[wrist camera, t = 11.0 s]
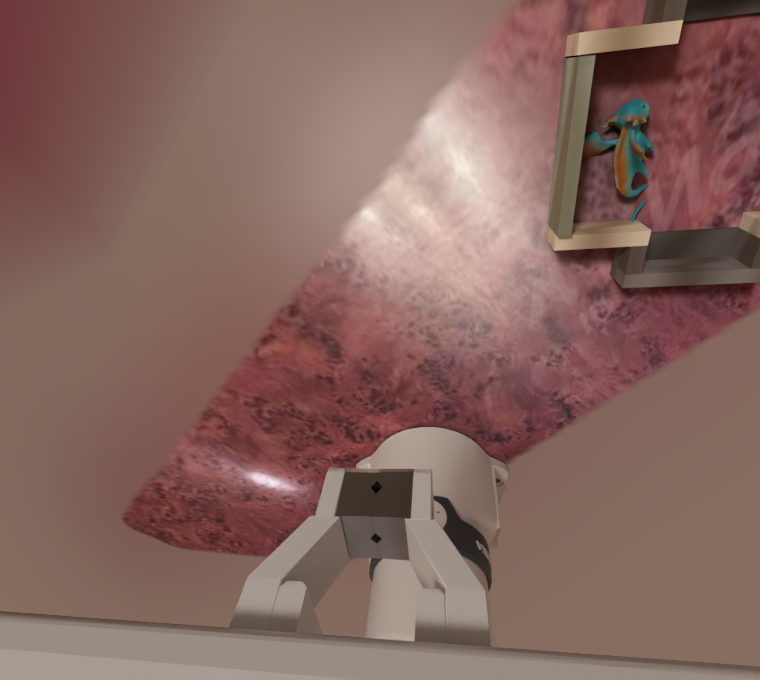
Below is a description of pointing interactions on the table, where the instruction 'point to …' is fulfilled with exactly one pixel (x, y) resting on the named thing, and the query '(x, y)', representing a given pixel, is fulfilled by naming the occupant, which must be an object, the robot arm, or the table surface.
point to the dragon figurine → (625, 147)
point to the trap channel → (632, 239)
